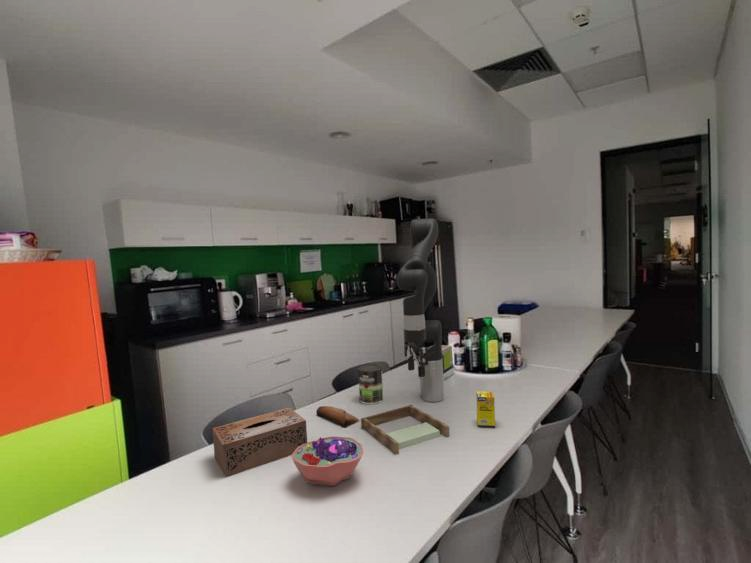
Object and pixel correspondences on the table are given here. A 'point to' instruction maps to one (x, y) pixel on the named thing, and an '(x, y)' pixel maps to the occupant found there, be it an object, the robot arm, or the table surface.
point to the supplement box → (485, 409)
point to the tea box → (447, 361)
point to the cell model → (328, 459)
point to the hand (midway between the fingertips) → (416, 373)
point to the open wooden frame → (380, 418)
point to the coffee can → (370, 384)
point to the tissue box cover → (258, 440)
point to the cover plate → (414, 434)
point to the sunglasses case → (337, 415)
